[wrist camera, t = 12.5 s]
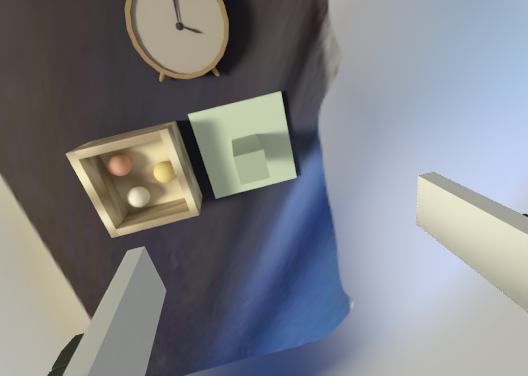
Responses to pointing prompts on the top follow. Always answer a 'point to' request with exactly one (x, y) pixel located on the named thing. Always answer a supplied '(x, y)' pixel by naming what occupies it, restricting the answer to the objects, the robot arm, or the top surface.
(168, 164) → the ball mustard
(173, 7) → the alarm clock
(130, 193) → the ball cream
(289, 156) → the lid
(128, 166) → the ball terracotta
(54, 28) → the top surface
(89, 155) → the box
